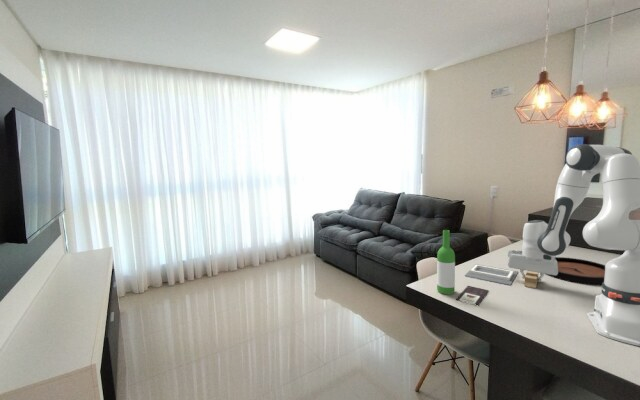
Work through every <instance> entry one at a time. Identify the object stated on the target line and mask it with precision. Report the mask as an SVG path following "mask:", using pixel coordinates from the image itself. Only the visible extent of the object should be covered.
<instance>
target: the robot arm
mask: <svg viewBox="0 0 640 400" xmlns="http://www.w3.org/2000/svg"><path fill="white" fill-rule="evenodd" d="M597 174H600V177H601V185H602V187H601V188H602V206H601V209H600V211H599V213H598V214H597V216H595V217H594V218H593V219H592V220H590V221H588V222H587V223H585V225H584V226H583V229H582V238H583V240H584V241H585V243H587V245H589V246H590V247H593V248H598V249H602V250H612V251H624V252H623V254H621V255H619V256H618V257H615V258H612V259H610V260H609V261H607V263H606V264H605V265H606V266H605V276H604V282H603V283H602V285H601V293H600V294H597V295H596V296H595V301H594V309H593V310H594V311H592V312H591V311H589V312H587V317H588V319H589V321H590V323H591V324H592V326H593V328H594V330H595V331H596V333H597V334H599V335H600V336H603V337H605V338H608V339H612V340H615V341H618V342H621V343H625V344H629V345H633V346H637V347H638V346H639V347H640V219H630V218H629V217H630V212H632V211H635V210H637V209H640V161H639V159H638V157H636V156H635V155H633V153H632V152H631V151H630V150H628V149H626V148H623V147H621V146H619V147H618V146H617V147H616V146H615V147H614V146H611V145H604V144H588V143H587V144H586V143H582V144H575V145H573V146H572V147H570V148H569V149H568V151H567V153H566V155H565V164H564V166H563V168H562V170H561V172H560V174H559V176H558V178H557V183H556V186H555V191H554V198H553V199H554V201H553V206H552V211H551V215H550V218H549V221H548V223H547V222H546V221H544V220H542V219H541V220H540V219H534V220H528V221H527V222H525V223H524V224H523V228H522V241H523V242H522V245H521V250H514V249H511V250H508V252H507V256H508V257H507V258H508V262H507V267H508V268H509V269H515V270H519V272H520V274H521V275H522V279H524V280H525V275H526V273H524V272H525V271H526V272H527V271H532V272H537V273H538V274H540V276H538V277H537V281H538V282H541V281H542V278H543V277H544V276H545V275H546V274H549V275H555V276H556V275H557V274H558V263H557V260H556V259H555V258H556V257H557V256H560V255H562V254H564V252H565V250H566V248H567V247H568V246H569V245H570V243H571V241H572V238H571V235H570V233H568V232H567V230H566V229H567V226H568V223H569V220H570V218H571V216H572V214H573V213H574V211H575V210H576V209H577V208H578V207H579V206H580V205H581V204H582V203H583V201H584V199H585V198H586V196H587V195H588V191H589V189H590V185H591V182H592V179H593V178H594V176H595V175H597Z"/></svg>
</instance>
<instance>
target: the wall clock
mask: <svg viewBox="0 0 640 400" xmlns="http://www.w3.org/2000/svg"><path fill="white" fill-rule="evenodd" d="M555 259H556V260H557V263H558V274H557V275H556V276H555V275H549V274H545V275H546V276H548V277H551V278H554V279H557V280H561V281H564V282H568V283H569V282H570V283H574V284H580V285H586V286H587V285H588V286H589V285H590V286H602V283H603V282H604V276H605V266H606V264H604V263H603V264H602V263H599V262H595V261H591V260H586V259H580V258H573V257H561V256H556V258H555Z"/></svg>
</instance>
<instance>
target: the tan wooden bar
mask: <svg viewBox="0 0 640 400" xmlns="http://www.w3.org/2000/svg"><path fill="white" fill-rule="evenodd" d="M537 277H539V273H537V272H532V271H526V273H525V279H524V283H523V285H524V287H528V288H533V289H537V285H538V282H539V281H537Z"/></svg>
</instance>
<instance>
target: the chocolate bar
mask: <svg viewBox="0 0 640 400" xmlns="http://www.w3.org/2000/svg"><path fill="white" fill-rule="evenodd" d="M488 293H489V290H488V289H484V288H480V287H476V286H472V285H467V286H466V287H465V288H464V289H463V291H462V292H461V293H460V294H459V295H458V296H457V297H456V299H455V300H456V301H458V300H460V301H459V302H462V301H464V302H463V303H466V302H468V303H467V304H469V303H472V304H471V305H473V304H476V305H475V306H477V305H478V306H479V305H480V304H481V302H482V301H483V300H482V299H484V298H485V297H486V296H487V294H488ZM484 296H485V297H484ZM479 303H480V304H479Z"/></svg>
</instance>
